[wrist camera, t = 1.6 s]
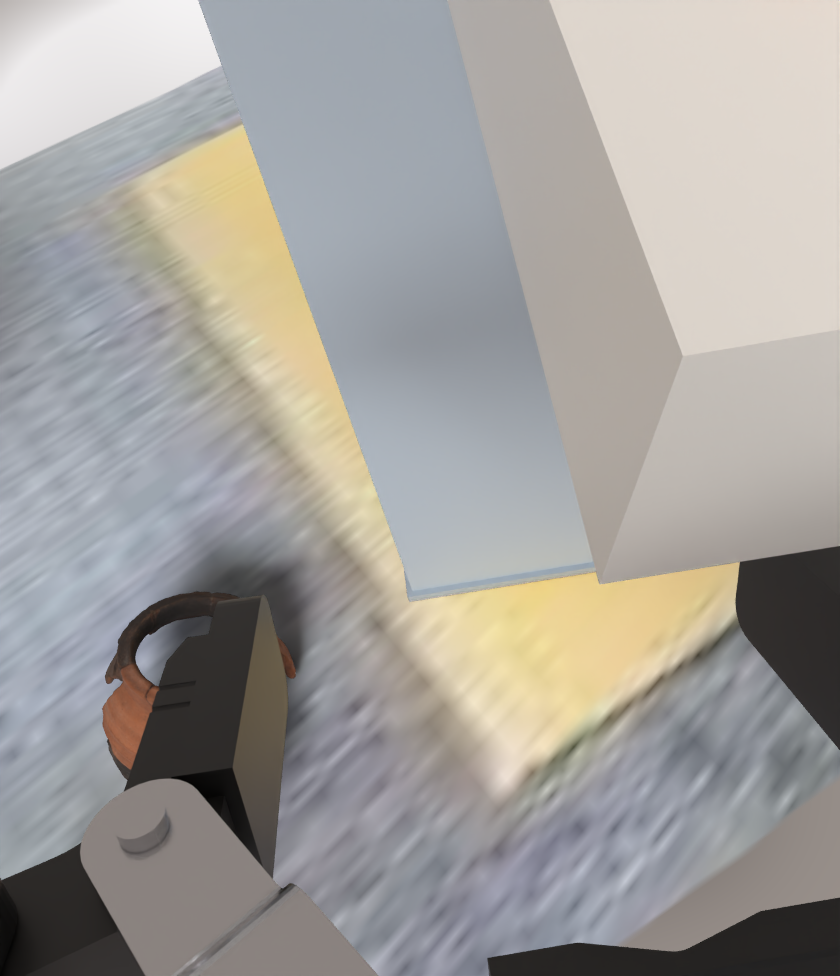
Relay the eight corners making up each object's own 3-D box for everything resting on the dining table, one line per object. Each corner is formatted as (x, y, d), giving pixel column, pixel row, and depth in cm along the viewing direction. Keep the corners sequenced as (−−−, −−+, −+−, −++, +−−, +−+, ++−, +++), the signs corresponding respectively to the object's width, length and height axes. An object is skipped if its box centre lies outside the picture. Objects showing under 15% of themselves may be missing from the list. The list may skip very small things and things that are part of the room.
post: (637, 565, 39) (1005, -207, 10) (409, 601, 39) (157, -42, 11) (568, 328, 46) (671, -494, 18) (378, 360, 47) (182, -391, 18)
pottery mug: (91, 721, 39) (67, 614, 34) (254, 656, 44) (254, 556, 39) (166, 925, 31) (149, 826, 26) (353, 820, 36) (367, 720, 31)
